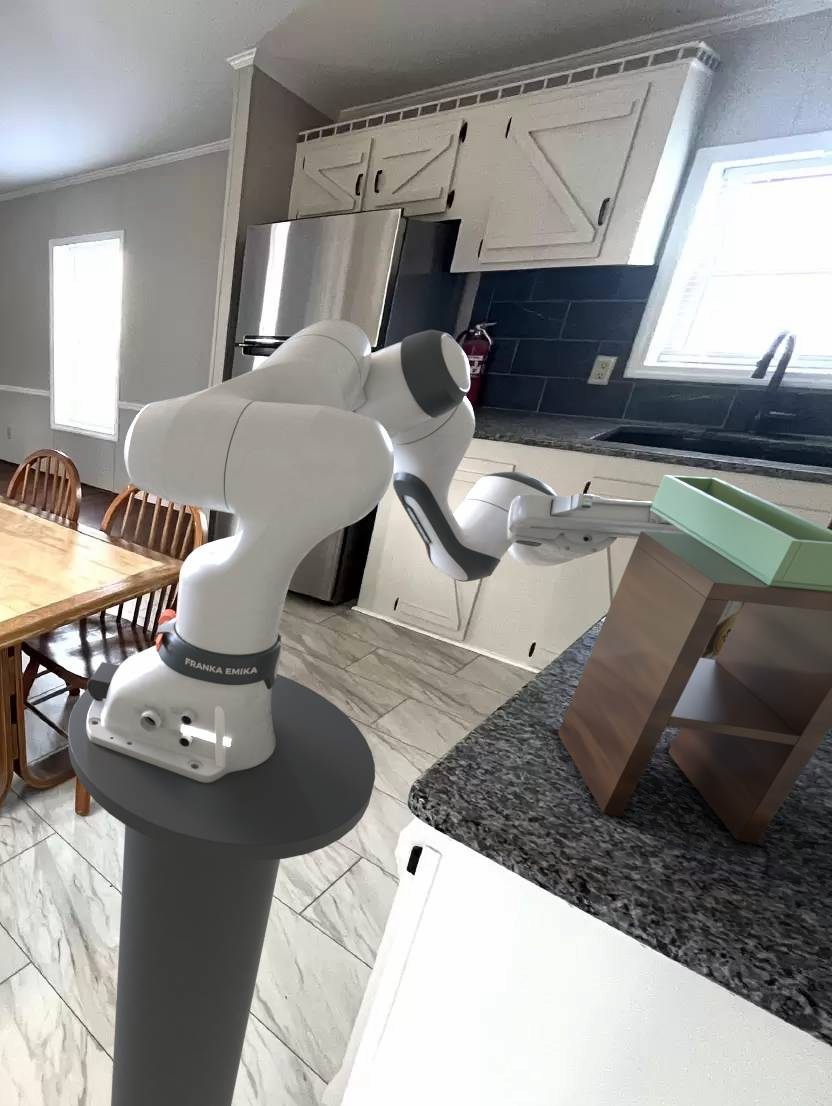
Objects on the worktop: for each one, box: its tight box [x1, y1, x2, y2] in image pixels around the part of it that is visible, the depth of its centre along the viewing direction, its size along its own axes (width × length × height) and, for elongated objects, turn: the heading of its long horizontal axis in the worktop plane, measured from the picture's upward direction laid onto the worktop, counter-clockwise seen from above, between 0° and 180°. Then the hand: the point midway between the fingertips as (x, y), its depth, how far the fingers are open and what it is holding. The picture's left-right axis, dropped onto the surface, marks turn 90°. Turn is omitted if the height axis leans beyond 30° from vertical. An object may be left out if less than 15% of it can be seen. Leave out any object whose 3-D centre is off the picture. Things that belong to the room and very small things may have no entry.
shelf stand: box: [557, 531, 832, 844], centre depth 63 cm, size 12×14×26 cm
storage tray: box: [650, 474, 832, 592], centre depth 60 cm, size 4×22×4 cm, turn 159°
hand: (631, 503), depth 79 cm, fingers open, 8 cm apart
